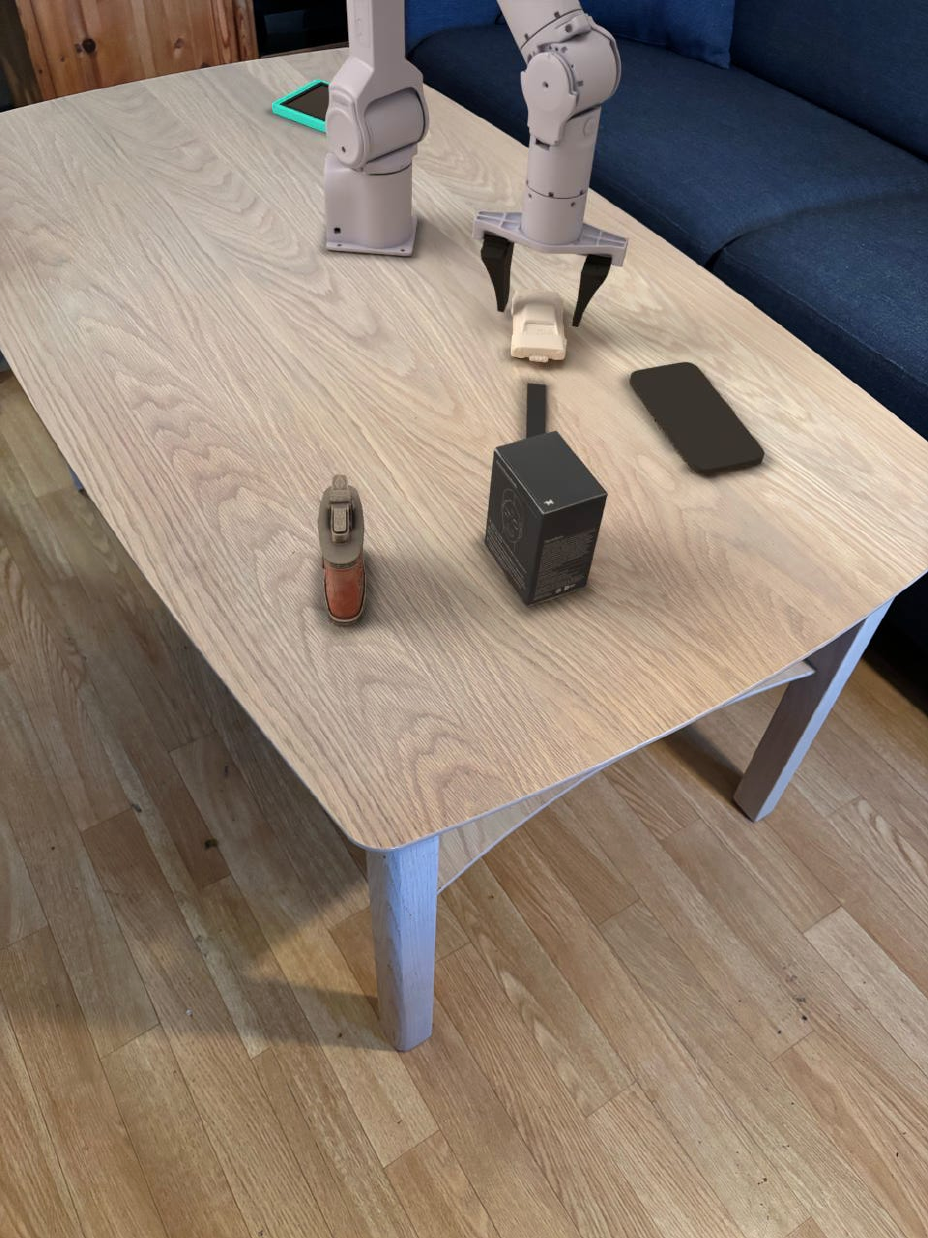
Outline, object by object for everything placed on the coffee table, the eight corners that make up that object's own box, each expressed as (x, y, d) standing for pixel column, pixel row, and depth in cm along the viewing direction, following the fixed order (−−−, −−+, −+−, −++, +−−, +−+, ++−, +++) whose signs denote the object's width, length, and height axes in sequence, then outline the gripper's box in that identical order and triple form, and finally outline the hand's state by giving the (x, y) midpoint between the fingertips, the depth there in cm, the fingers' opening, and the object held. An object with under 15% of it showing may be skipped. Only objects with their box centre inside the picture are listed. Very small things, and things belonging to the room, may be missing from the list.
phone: (693, 359, 96) (770, 456, 88) (691, 366, 97) (767, 463, 88) (626, 371, 94) (698, 472, 86) (624, 378, 95) (696, 479, 86)
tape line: (524, 491, 84) (525, 490, 84) (527, 384, 94) (527, 382, 94) (545, 493, 84) (545, 492, 84) (545, 385, 94) (545, 384, 94)
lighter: (324, 550, 79) (315, 459, 71) (365, 549, 79) (362, 458, 71) (323, 628, 74) (314, 538, 66) (367, 627, 74) (364, 537, 66)
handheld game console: (368, 150, 121) (367, 139, 120) (269, 112, 126) (268, 101, 125) (413, 121, 127) (414, 110, 126) (317, 86, 132) (317, 76, 130)
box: (587, 587, 78) (610, 492, 70) (526, 609, 76) (542, 514, 68) (541, 523, 82) (557, 426, 74) (481, 542, 80) (491, 445, 72)
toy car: (561, 303, 103) (565, 274, 100) (565, 373, 95) (569, 344, 93) (509, 300, 103) (512, 271, 100) (509, 370, 95) (513, 341, 92)
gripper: (643, 176, 88) (616, 306, 99) (489, 148, 90) (479, 278, 101) (631, 214, 84) (605, 345, 95) (470, 184, 86) (462, 316, 96)
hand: (539, 313), depth 97 cm, fingers open, 7 cm apart
